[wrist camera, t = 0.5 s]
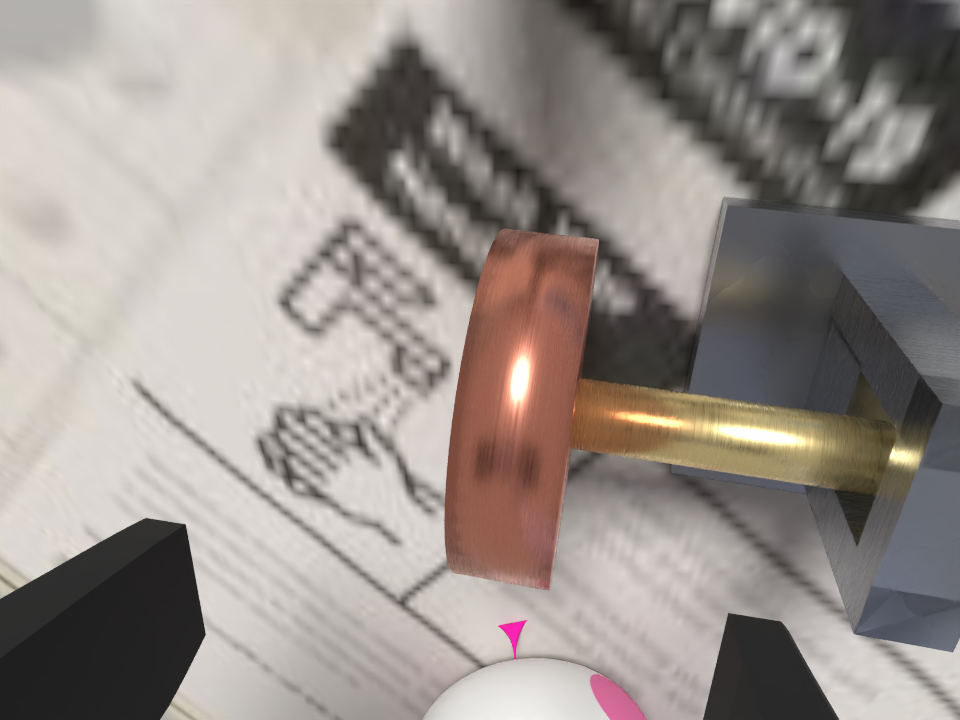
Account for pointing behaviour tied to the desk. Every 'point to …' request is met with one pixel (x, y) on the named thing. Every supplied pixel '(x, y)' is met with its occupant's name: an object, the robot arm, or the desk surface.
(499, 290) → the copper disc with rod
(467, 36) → the desk surface
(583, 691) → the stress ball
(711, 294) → the eye post
